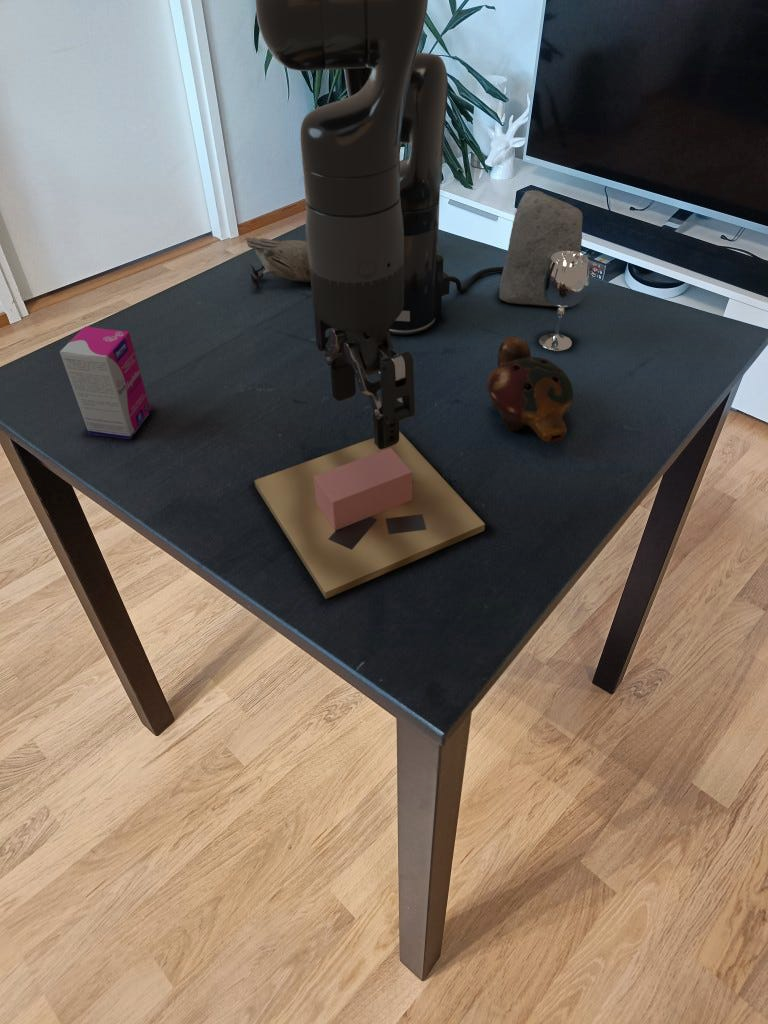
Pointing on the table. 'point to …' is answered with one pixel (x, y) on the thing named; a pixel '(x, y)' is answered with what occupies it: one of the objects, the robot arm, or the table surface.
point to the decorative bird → (281, 259)
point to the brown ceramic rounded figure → (530, 391)
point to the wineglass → (564, 291)
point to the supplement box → (106, 381)
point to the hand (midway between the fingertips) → (364, 419)
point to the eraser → (363, 488)
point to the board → (366, 520)
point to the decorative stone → (537, 245)
